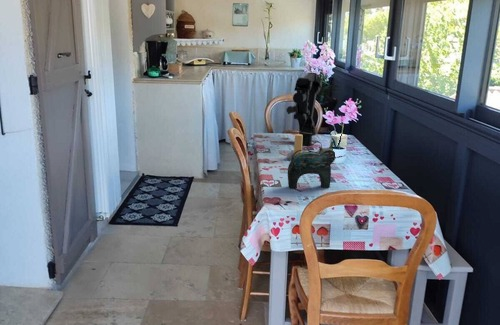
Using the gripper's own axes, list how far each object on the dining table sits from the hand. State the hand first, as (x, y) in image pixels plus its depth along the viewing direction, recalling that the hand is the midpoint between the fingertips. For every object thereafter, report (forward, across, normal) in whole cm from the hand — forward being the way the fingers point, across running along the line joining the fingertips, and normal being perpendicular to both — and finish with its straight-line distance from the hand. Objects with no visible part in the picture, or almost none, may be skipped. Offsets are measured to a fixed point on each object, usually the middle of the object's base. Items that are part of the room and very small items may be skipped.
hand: (300, 129), depth 247 cm
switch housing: (+12, +14, +2) cm, 19 cm away
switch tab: (+10, +19, +2) cm, 22 cm away
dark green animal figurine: (+12, +60, +14) cm, 63 cm away
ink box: (+12, +4, +21) cm, 25 cm away
